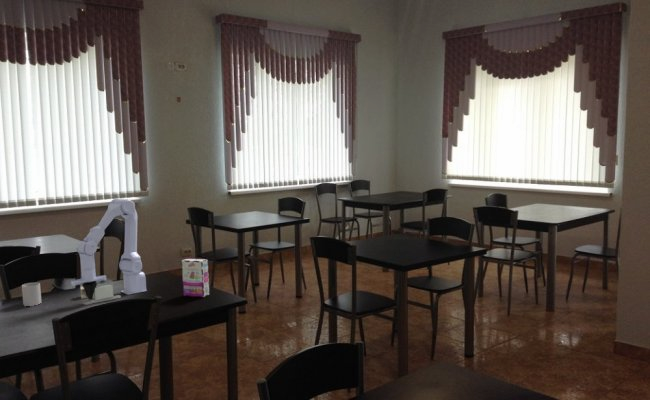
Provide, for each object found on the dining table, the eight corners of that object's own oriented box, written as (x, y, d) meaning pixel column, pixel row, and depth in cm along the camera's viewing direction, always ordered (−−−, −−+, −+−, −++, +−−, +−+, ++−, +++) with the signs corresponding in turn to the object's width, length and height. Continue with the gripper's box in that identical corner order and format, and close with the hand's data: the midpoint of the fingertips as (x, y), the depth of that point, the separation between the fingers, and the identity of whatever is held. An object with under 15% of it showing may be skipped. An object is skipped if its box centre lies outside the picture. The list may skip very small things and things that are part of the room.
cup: (24, 307, 258) (22, 287, 257) (21, 302, 267) (19, 283, 266) (42, 304, 262) (41, 284, 261) (39, 300, 270) (37, 280, 270)
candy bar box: (210, 294, 271) (208, 259, 269) (203, 297, 266) (202, 261, 264) (189, 293, 275) (187, 257, 273) (182, 295, 270) (180, 260, 269)
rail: (118, 296, 272) (118, 295, 272) (121, 297, 270) (121, 296, 270) (83, 303, 261) (83, 302, 261) (85, 305, 260) (85, 303, 260)
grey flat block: (112, 296, 269) (111, 284, 269) (113, 296, 268) (112, 284, 268) (94, 300, 264) (93, 287, 263) (95, 300, 263) (94, 288, 262)
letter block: (91, 295, 276) (91, 285, 276) (92, 297, 272) (91, 288, 272) (81, 296, 275) (80, 286, 274) (81, 299, 270) (80, 289, 270)
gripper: (101, 264, 268) (103, 294, 270) (67, 269, 259) (70, 300, 260) (107, 266, 263) (109, 296, 265) (73, 272, 254) (75, 303, 255)
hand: (90, 299), depth 262 cm, fingers closed
